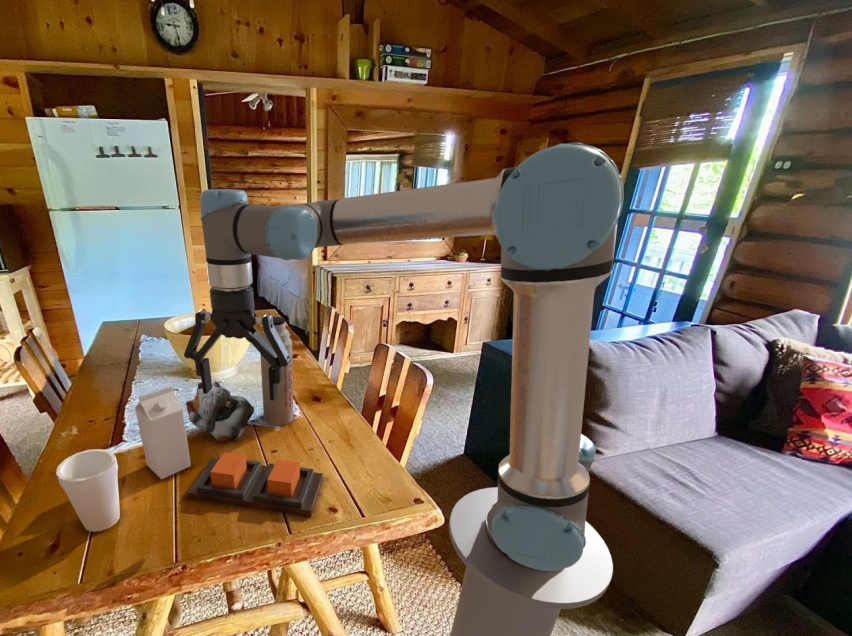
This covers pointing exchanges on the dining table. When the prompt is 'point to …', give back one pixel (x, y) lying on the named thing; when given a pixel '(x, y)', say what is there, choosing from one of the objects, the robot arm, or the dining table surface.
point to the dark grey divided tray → (259, 490)
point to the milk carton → (163, 432)
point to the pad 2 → (283, 478)
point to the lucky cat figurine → (219, 412)
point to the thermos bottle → (282, 405)
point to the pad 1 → (228, 471)
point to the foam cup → (92, 487)
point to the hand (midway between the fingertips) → (240, 394)
